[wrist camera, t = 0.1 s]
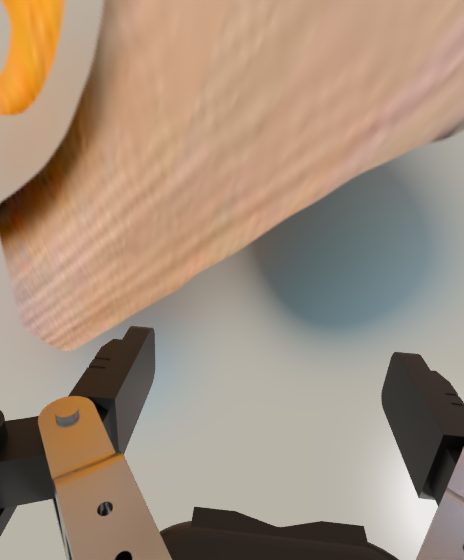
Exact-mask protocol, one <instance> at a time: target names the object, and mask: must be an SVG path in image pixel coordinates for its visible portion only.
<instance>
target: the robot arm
mask: <svg viewBox="0 0 464 560" xmlns="http://www.w3.org/2000/svg"><path fill="white" fill-rule="evenodd" d="M154 337H155V334H154V329H153V328H147V327H137V326H131V327H130V328H129V330H128V331H127V333H126V334H125V336H124V338H123V339H122V340H119V339H113V340H111V341H110V342H108V343H107V344H105V345H104V346H103V347H101V349H100V350H99V352H98V353H97V355H96V356H95V359H93V360H92V362H91V363H90V365H89V368H87V369H86V371H85V372H84V374H83V375H82V377H81V378H80V380H79V381H78V383H77V384H76V386H75V387H74V389H73V390H72V391H71V393H70V395H69V396H68V397H64V398H61V399H58V400H56V401H54V402H52V403H50V404H49V405H47V406H46V407H45V408H44V409H43V410H42V412H41V413H40V415H39V416H36V417H31V418H24V419H17V420H9V421H5V419H4V415H3V413H2V412H1V411H0V536H1V534H2V532H3V530H4V529H5V527H6V525H7V523H8V521H9V520H10V518H11V516H12V514H13V512H14V511H15V509H16V507H17V505H22V504H28V503H33V502H38V501H43V500H48V499H52V500H53V504H54V508H55V512H56V517H57V521H58V525H59V529H60V533H61V538H62V541H63V546H64V550H65V554H66V558H67V560H398V559H397V558H396V557H394V556H393V555H391V554H390V553H388V552H387V551H385V550H383V549H381V548H379V547H377V546H375V545H374V544H371V543H369V542H367V538H366V534H365V530H364V526H358V525H349V524H341V523H332V522H323V521H320V522H314V523H307V524H300V525H294V526H288V527H276V526H273V525H270V524H267V523H265V522H262V521H259V520H257V519H254V518H251V517H249V516H246V515H244V514H241V513H238V512H236V511H228V510H218V509H209V508H201V507H194V512H193V517H192V521H188V522H183V523H179V524H176V525H173V526H171V527H168V528H166V529H164V530H162V531H160V532H159V530H158V528H157V526H156V524H155V522H154V520H153V517H152V515H151V513H150V511H149V509H148V507H147V505H146V503H145V501H144V498H143V496H142V494H141V492H140V489H139V487H138V485H137V483H136V481H135V479H134V476H133V474H132V472H131V470H130V468H129V466H128V464H127V461H126V460H125V457H124V452H125V450H126V447H127V445H128V442H129V440H130V437H131V435H132V433H133V430H134V427H135V425H136V423H137V420H138V418H139V415H140V413H141V410H142V408H143V405H144V403H145V400H146V398H147V395H148V393H149V390H150V388H151V385H152V383H153V379H154V373H155V338H154ZM382 406H383V410H384V412H385V415H386V417H387V419H388V422H389V425H390V427H391V430H392V432H393V435H394V437H395V440H396V442H397V445H398V447H399V450H400V452H401V454H402V457H403V460H404V462H405V464H406V467H407V469H408V472H409V474H410V477H411V479H412V482H413V485H414V487H415V490H416V492H417V494H418V497H419V498H423V499H432V500H436V502H437V504H438V509H437V511H436V513H435V516H434V518H433V520H432V523H431V525H430V528H429V530H428V532H427V535H426V537H425V539H424V542H423V544H422V547H421V549H420V551H419V554H418V556H417V558H416V560H464V403H463V401H462V400H461V398H460V397H458V394H457V392H456V391H455V389H454V388H453V386H452V385H451V383H450V382H449V381H447V380H446V379H445V378H444V377H442V376H441V375H440V374H439V373H438V372H436V371H430V369H429V367H428V366H427V364H426V363H425V361H424V360H423V358H422V357H421V355H419V354H412V353H401V352H394V353H393V355H392V357H391V360H390V364H389V367H388V371H387V374H386V378H385V382H384V386H383V389H382Z"/></svg>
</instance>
